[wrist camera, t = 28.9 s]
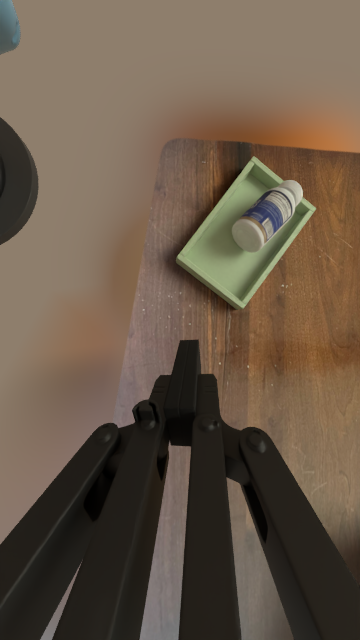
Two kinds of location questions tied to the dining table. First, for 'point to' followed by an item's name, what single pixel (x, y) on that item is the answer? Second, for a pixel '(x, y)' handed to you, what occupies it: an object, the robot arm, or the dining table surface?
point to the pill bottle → (267, 216)
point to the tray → (223, 252)
